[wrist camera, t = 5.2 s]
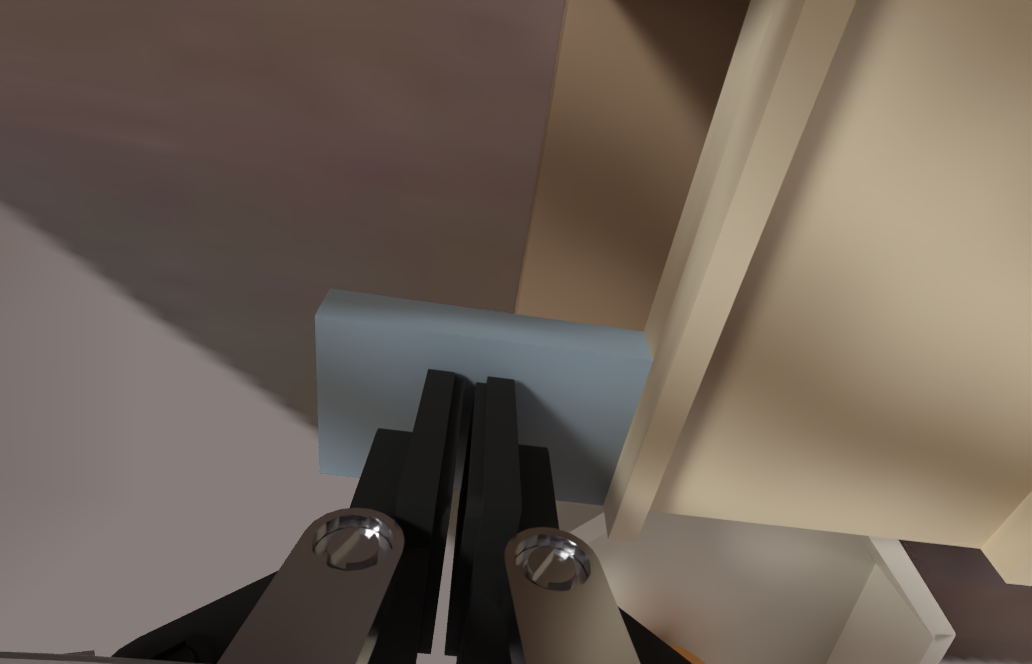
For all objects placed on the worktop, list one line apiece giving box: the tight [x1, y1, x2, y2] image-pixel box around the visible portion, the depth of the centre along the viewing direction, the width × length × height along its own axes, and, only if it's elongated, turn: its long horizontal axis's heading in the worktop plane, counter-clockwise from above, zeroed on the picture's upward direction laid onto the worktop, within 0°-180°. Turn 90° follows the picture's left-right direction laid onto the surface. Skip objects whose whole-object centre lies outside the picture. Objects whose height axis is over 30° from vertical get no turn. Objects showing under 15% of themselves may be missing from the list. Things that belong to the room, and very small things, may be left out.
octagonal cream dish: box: [555, 500, 956, 664], centre depth 20 cm, size 14×14×4 cm
